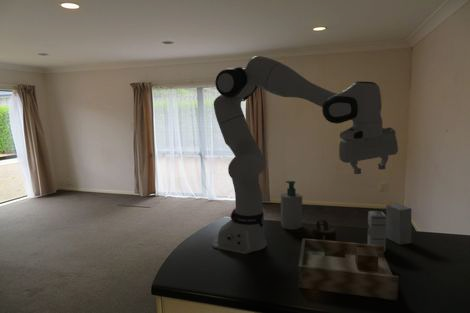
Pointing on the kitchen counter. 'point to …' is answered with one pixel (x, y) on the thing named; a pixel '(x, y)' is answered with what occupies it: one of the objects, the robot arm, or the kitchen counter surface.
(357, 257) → the walnut block
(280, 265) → the kitchen counter surface
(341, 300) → the kitchen counter surface
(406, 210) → the skincare box
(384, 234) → the syrup box
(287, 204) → the soap bottle
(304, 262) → the tray
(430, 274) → the kitchen counter surface
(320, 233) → the kendama
